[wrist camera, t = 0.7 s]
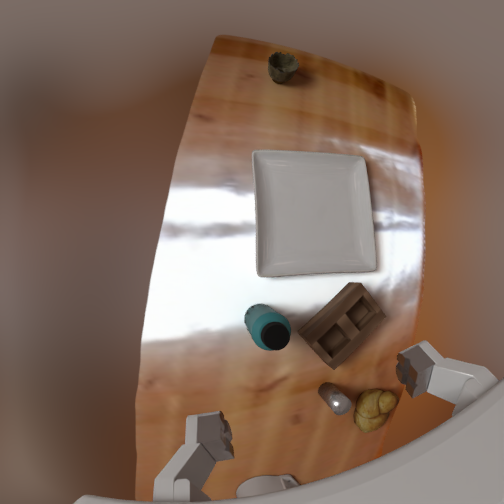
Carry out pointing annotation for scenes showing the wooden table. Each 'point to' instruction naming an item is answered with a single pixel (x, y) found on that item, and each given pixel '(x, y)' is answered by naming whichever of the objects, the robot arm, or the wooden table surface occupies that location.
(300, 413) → the wooden table surface
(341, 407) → the steel pin
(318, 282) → the wooden table surface
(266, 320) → the beverage bottle
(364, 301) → the socket block
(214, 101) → the wooden table surface
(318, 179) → the square plate
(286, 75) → the cup
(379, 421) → the bread roll
